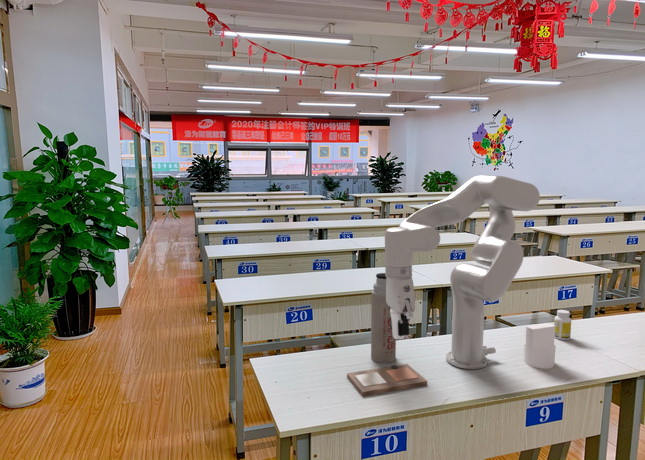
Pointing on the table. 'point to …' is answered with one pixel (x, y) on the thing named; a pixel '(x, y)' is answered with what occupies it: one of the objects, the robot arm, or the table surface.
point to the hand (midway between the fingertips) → (399, 331)
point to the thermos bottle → (381, 324)
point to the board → (386, 379)
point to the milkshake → (395, 323)
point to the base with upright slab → (539, 346)
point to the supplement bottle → (562, 325)
